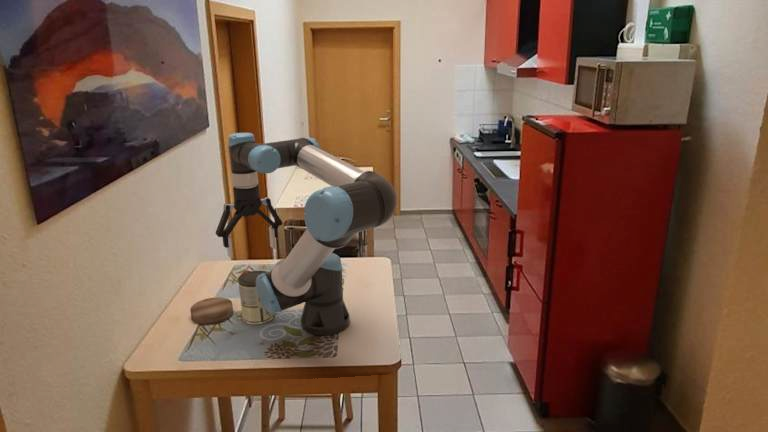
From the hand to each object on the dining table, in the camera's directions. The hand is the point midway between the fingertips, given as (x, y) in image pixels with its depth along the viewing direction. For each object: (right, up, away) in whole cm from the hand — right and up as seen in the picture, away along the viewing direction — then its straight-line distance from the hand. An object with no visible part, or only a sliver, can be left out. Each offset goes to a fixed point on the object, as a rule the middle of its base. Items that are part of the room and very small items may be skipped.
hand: (252, 252), depth 164 cm
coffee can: (0, -22, +7) cm, 23 cm away
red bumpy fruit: (-8, -15, +26) cm, 32 cm away
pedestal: (-15, -21, +9) cm, 27 cm away
